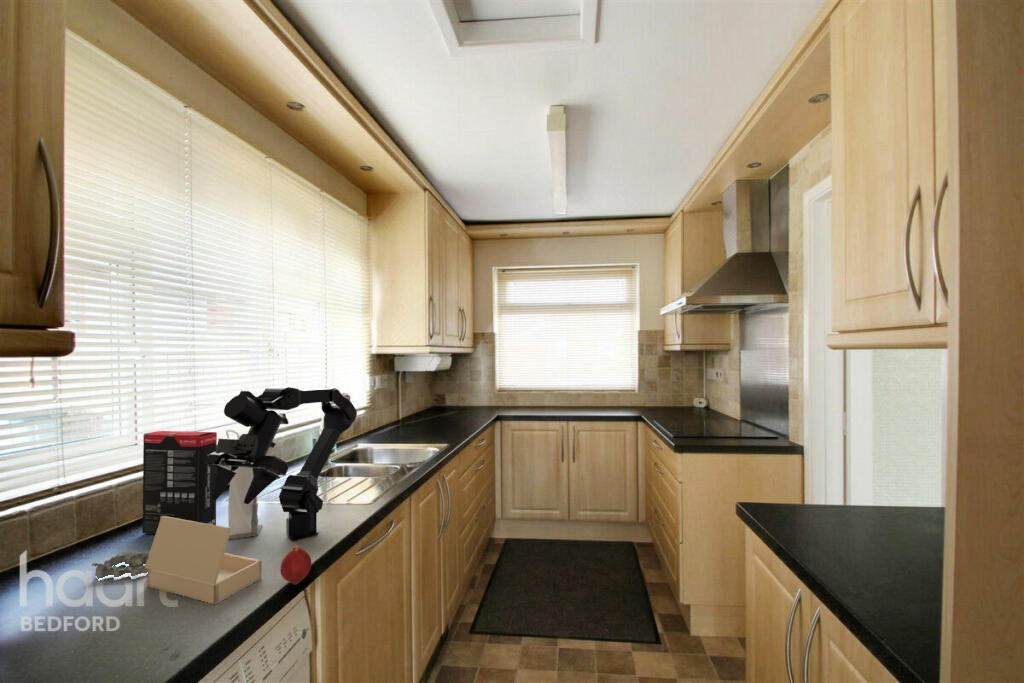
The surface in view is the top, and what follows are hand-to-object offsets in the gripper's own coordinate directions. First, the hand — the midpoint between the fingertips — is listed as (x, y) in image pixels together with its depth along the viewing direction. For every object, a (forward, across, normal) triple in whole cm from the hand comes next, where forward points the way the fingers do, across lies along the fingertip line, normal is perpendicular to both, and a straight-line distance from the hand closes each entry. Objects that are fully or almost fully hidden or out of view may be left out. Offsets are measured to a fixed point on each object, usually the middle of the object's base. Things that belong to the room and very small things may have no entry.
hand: (229, 501), depth 95 cm
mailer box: (+16, -2, +5) cm, 16 cm away
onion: (+13, +17, +9) cm, 24 cm away
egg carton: (+16, -23, +4) cm, 28 cm away
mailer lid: (+10, -2, -3) cm, 10 cm away
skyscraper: (+4, -17, +24) cm, 30 cm away
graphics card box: (+6, -34, +21) cm, 40 cm away
